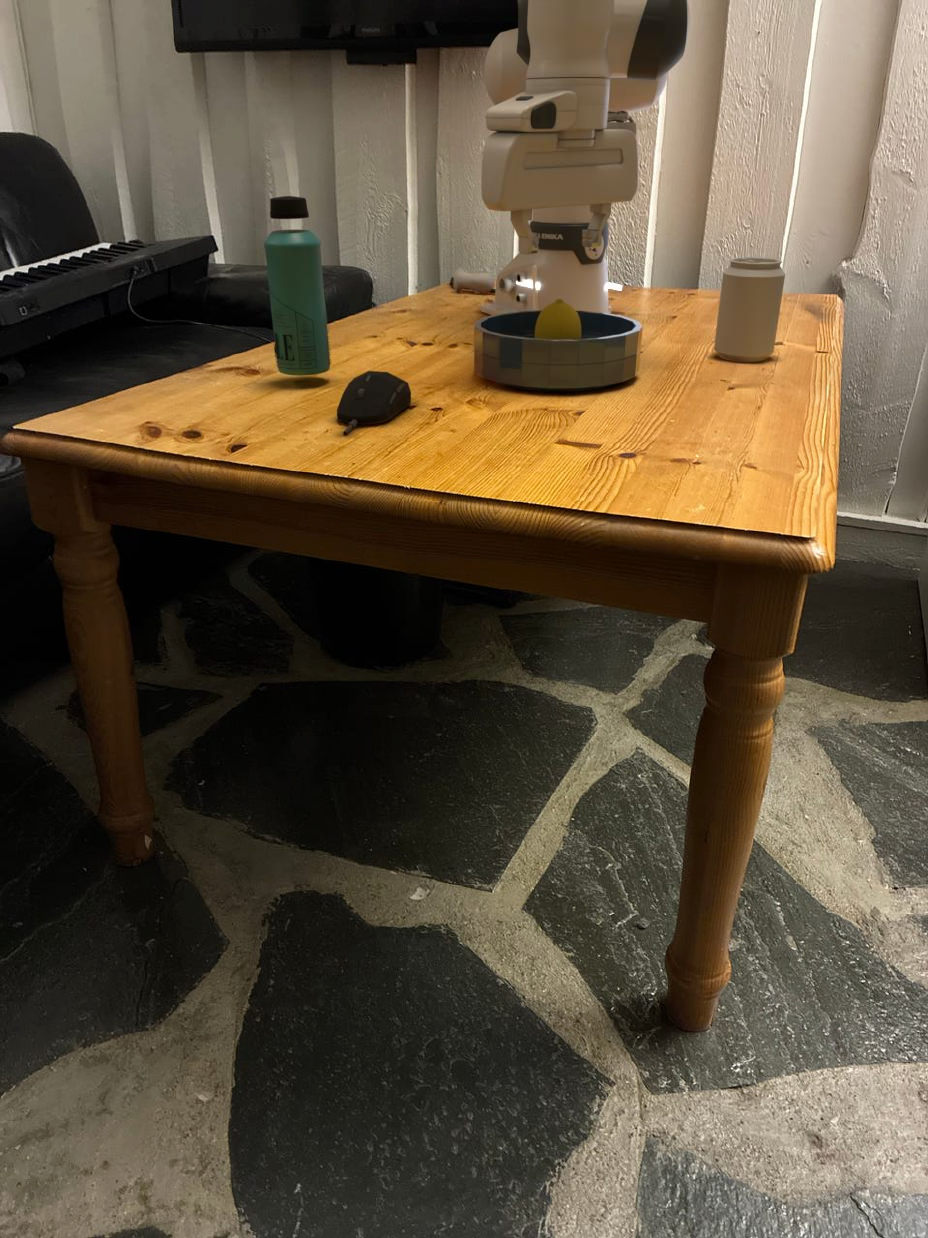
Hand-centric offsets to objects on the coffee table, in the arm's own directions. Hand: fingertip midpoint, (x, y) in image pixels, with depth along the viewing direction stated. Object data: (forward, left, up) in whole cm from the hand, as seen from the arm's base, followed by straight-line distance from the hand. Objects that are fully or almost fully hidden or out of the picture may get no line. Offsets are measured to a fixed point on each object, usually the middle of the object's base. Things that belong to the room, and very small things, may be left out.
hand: (560, 249), depth 103 cm
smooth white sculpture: (-59, +31, -14) cm, 68 cm away
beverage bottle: (-15, -26, -14) cm, 33 cm away
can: (+7, +26, -14) cm, 30 cm away
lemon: (0, 0, -14) cm, 13 cm away
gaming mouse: (+2, -27, -14) cm, 31 cm away
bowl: (0, 0, -14) cm, 14 cm away
